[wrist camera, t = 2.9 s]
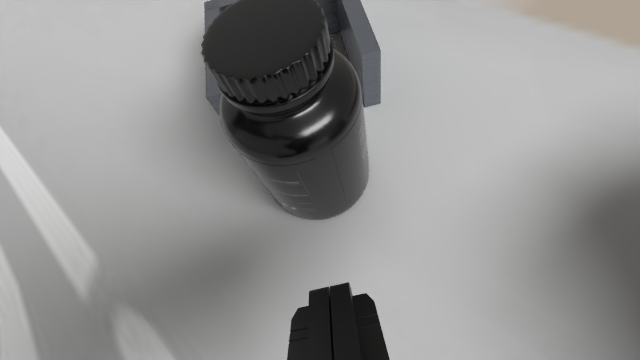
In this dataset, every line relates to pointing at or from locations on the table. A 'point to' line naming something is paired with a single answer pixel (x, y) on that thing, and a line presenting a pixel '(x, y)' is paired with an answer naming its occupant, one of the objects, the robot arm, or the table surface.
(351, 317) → the robot arm
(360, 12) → the keeper cradle
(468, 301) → the table surface
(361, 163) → the supplement bottle
